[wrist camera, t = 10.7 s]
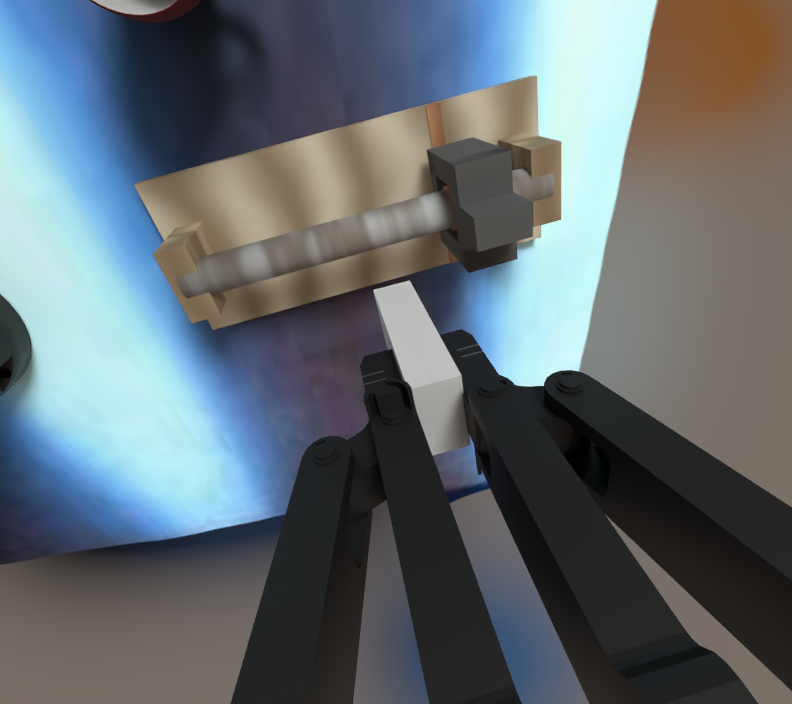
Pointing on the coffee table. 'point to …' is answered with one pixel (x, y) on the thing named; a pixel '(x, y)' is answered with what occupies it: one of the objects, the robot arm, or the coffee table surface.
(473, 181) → the collar
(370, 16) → the coffee table surface
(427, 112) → the pipe rig
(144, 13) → the mug
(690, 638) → the robot arm
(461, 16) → the coffee table surface
